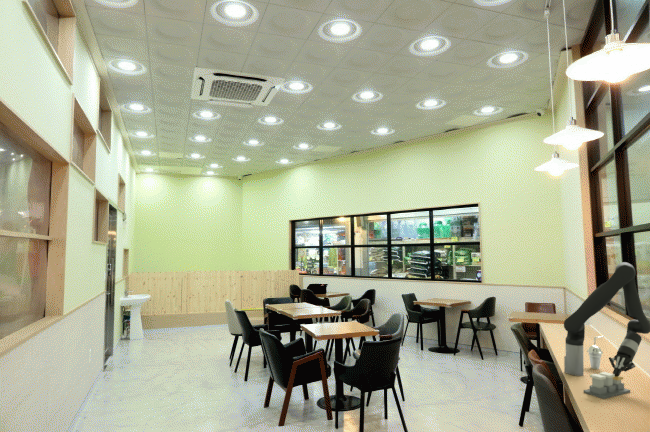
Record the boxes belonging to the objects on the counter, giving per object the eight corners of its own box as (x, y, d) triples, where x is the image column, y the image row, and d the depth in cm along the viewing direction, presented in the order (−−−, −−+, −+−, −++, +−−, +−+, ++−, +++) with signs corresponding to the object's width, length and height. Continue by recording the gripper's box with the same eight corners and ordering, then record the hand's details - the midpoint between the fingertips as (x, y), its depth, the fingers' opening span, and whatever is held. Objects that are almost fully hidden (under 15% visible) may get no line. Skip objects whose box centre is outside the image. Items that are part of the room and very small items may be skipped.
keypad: (603, 399, 215) (603, 390, 215) (583, 392, 224) (583, 384, 224) (630, 392, 226) (630, 384, 226) (610, 386, 235) (610, 378, 235)
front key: (600, 389, 218) (600, 377, 218) (590, 386, 222) (590, 374, 223) (605, 388, 220) (605, 376, 221) (595, 385, 225) (595, 373, 225)
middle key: (609, 387, 222) (609, 375, 222) (599, 384, 226) (599, 372, 227) (614, 386, 224) (614, 374, 224) (604, 383, 229) (604, 371, 229)
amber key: (618, 390, 225) (618, 378, 226) (608, 387, 230) (607, 375, 230) (623, 388, 228) (623, 377, 228) (613, 385, 232) (613, 374, 233)
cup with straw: (587, 365, 276) (586, 333, 278) (604, 367, 272) (603, 335, 273) (587, 368, 269) (586, 335, 270) (604, 371, 265) (604, 337, 266)
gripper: (612, 342, 240) (599, 367, 234) (638, 347, 229) (626, 374, 222) (617, 351, 242) (605, 376, 236) (644, 357, 231) (631, 383, 224)
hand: (615, 375), depth 229 cm, fingers closed
